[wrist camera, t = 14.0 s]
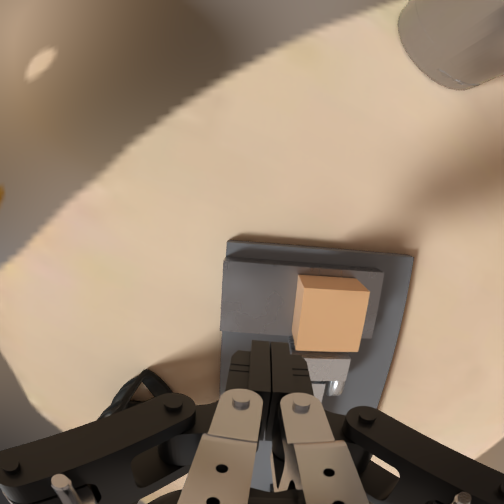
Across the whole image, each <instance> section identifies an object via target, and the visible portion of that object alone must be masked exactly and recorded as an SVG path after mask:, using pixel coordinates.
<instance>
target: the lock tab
mask: <svg viewBox="0 0 504 504" xmlns="http://www.w3.org/2000/svg"><path fill="white" fill-rule="evenodd" d="M369 295H370V291H369V290H368V289H367V288H366V287H365V286H364V285H363V284H361V283H360V282H359V281H358V280H357V279H356V278H343V277H328V276H313V275H299V274H298V281H297V290H296V298H295V307H294V315H293V323H292V335H293V340H294V344H295V349H296V350H299V351H327V352H358V350H359V345H360V341H361V336H362V331H363V326H364V322H365V316H366V311H367V306H368V300H369Z"/></svg>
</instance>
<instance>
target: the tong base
mask: <svg viewBox="0 0 504 504" xmlns="http://www.w3.org/2000/svg"><path fill="white" fill-rule="evenodd" d="M298 274H299V275H313V276H328V277H343V278H356V279H357V280H358V281H359V282H360V283H361V284H363V285H364V286H365V287H366V288H367V289H368V290H369V291H370V295H369V300H368V306H367V311H366V316H365V322H364V326H363V331H362V336H361V338H368V339H372V335H373V330H374V325H375V321H376V316H377V311H378V306H379V301H380V295H381V290H382V284H383V278H384V272H383V271H381V270H380V269H378V268H374V267H360V266H347V265H333V264H320V263H307V262H294V261H281V260H268V259H255V258H242V257H230V256H226V257H225V259H224V263H223V281H222V300H221V321H220V331H229V332H241V333H253V334H267V335H282V336H289V339H288V343H289V350H290V354H292V355H301V356H302V357H303V358H304V359H305V361H306V362H307V365H308V371H309V374H310V379H311V381H325V392H326V394H327V396H340V395H341V394H342V392H343V389H344V386H345V381H346V378H347V374H348V370H349V365H350V361H351V358H350V356H349V354H348V352H327V351H299V350H296V349H295V344H294V340H293V335H292V323H293V315H294V307H295V298H296V290H297V281H298ZM269 492H274V486H273V484H270V487H269Z"/></svg>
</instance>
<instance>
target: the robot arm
mask: <svg viewBox="0 0 504 504" xmlns="http://www.w3.org/2000/svg"><path fill="white" fill-rule="evenodd" d="M398 31H399V35H400V38H401V42H402V44H403V46H404V48H405V50H406V52H407V53H408V55H409V56H410V58H411V59H412V61H413V62H414V63H415V64H416V65H417V66H418V68H419V69H420V70H421V71H422V72H423V73H425V74H426V75H427V76H428V77H429V78H431V79H432V80H434V81H435V82H437V83H438V84H440V85H442V86H444V87H447V88H450V89H454V90H467V89H470V88H472V87H475V86H478V85H480V84H482V83H484V82H486V81H489V80H491V79H494V78H497V77H499V76H501V75H504V0H409V3H408V4H407V5H406V6H405V7H404V9H403V10H402V12H401V13H400V15H399V20H398ZM264 432H265V441H272V450H271V455H270V461H271V469H272V478H273V486H274V492H267V491H263V490H259V489H255V488H251V487H250V486H251V480H252V473H253V467H254V461H255V454H256V452H257V451H258V447H259V440H260V441H263V438H264ZM372 455H375V456H376V457H378V458H379V459H381V460H383V461H384V462H386V463H387V464H389V465H391V466H392V467H394V468H396V469H397V470H398V472H399V474H400V478H399V477H397V476H395V475H394V474H392V473H390V472H389V471H387V470H385V469H384V468H382V467H381V466H379V465H377V464H376V463H374V462H373V461H371V460H370V459H371V457H372ZM187 473H188V476H187V479H186V481H185V484H184V487H183V489H182V490H177V491H173V492H170V493H167V494H165V495H163V496H160V497H158V498H157V499H155V500H153V501H151V502H150V503H148V504H504V474H503V473H501V472H499V471H497V470H494V469H492V468H490V467H487V466H486V465H483V464H481V463H479V462H477V461H475V460H473V459H471V458H469V457H467V456H464V455H462V454H460V453H458V452H456V451H454V450H452V449H450V448H448V447H446V446H444V445H442V444H440V443H439V442H437V441H435V440H433V439H431V438H429V437H427V436H425V435H423V434H421V433H419V432H418V431H416V430H414V429H412V428H410V427H408V426H406V425H405V424H403V423H401V422H399V421H397V420H395V419H394V418H392V417H390V416H388V415H387V414H385V413H383V412H381V411H379V410H378V409H376V408H373V407H369V406H357V407H354V408H352V409H350V410H349V411H348V412H347V414H346V415H342V414H337V413H332V412H329V411H327V410H325V409H323V406H322V403H321V402H320V400H319V399H317V398H316V397H314V393H313V388H312V384H311V379H310V374H309V371H308V365H307V362H306V361H305V359H304V358H303V357H302V356H301V355H292V354H290V350H289V343H286V342H272V341H271V342H269V341H260V340H252V344H251V351H241V350H238V351H237V352H235V353H234V354H233V355H232V357H231V362H230V367H229V373H228V378H227V383H226V389H225V392H224V393H223V394H222V395H221V397H220V399H219V401H217V402H215V403H212V404H207V405H195V403H194V401H193V400H192V399H191V398H189V397H188V396H186V395H183V394H179V393H166V394H162V395H160V396H157V397H155V398H153V399H150V400H148V401H145V402H143V403H140V404H138V405H136V406H133V407H131V408H128V409H125V410H123V411H120V412H118V413H115V414H113V415H110V416H107V417H105V418H102V419H99V420H97V421H94V422H91V423H88V424H85V425H83V426H80V427H77V428H74V429H71V430H68V431H65V432H62V433H59V434H56V435H53V436H50V437H47V438H43V439H40V440H37V441H34V442H30V443H27V444H23V445H20V446H16V447H12V448H9V449H6V450H2V451H0V488H1V489H2V491H3V494H4V495H5V497H6V498H7V499H8V501H9V502H10V503H11V504H131V503H133V502H136V501H138V500H140V499H141V498H143V497H145V496H147V495H149V494H151V493H153V492H155V491H157V490H159V489H161V488H162V487H164V486H166V485H168V484H170V483H171V482H173V481H175V480H177V479H178V478H180V477H182V476H184V475H185V474H187Z"/></svg>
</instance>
